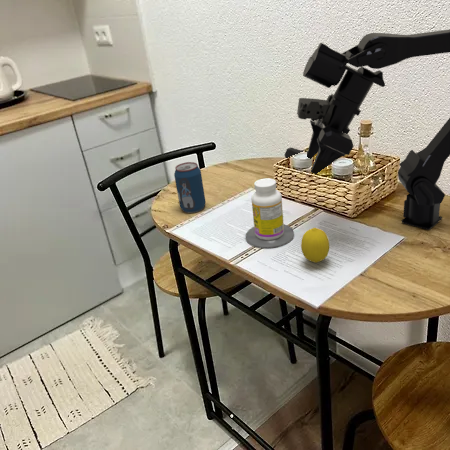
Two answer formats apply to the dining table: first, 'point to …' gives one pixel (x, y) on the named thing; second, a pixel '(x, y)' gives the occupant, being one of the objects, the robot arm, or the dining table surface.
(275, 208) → the supplement bottle
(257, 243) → the coaster
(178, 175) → the soda can
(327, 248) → the lemon
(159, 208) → the dining table surface
